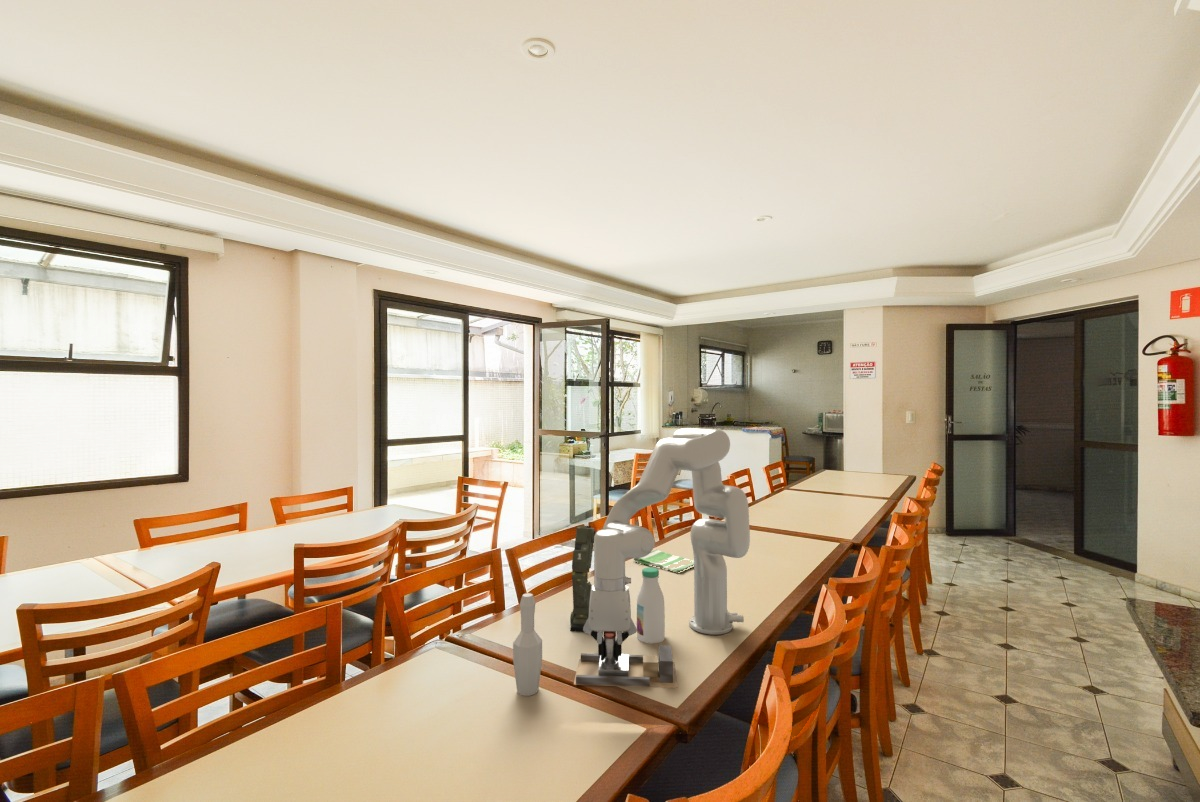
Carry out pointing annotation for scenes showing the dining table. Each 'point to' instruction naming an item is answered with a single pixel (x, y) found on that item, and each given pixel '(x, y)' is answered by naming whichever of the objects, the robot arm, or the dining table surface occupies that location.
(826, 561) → the dining table surface
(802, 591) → the dining table surface
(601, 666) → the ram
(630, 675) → the press board
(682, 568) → the dish towel
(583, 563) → the mechanical leg
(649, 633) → the milk bottle
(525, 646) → the faceted bottle
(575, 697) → the dining table surface
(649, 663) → the nut block
